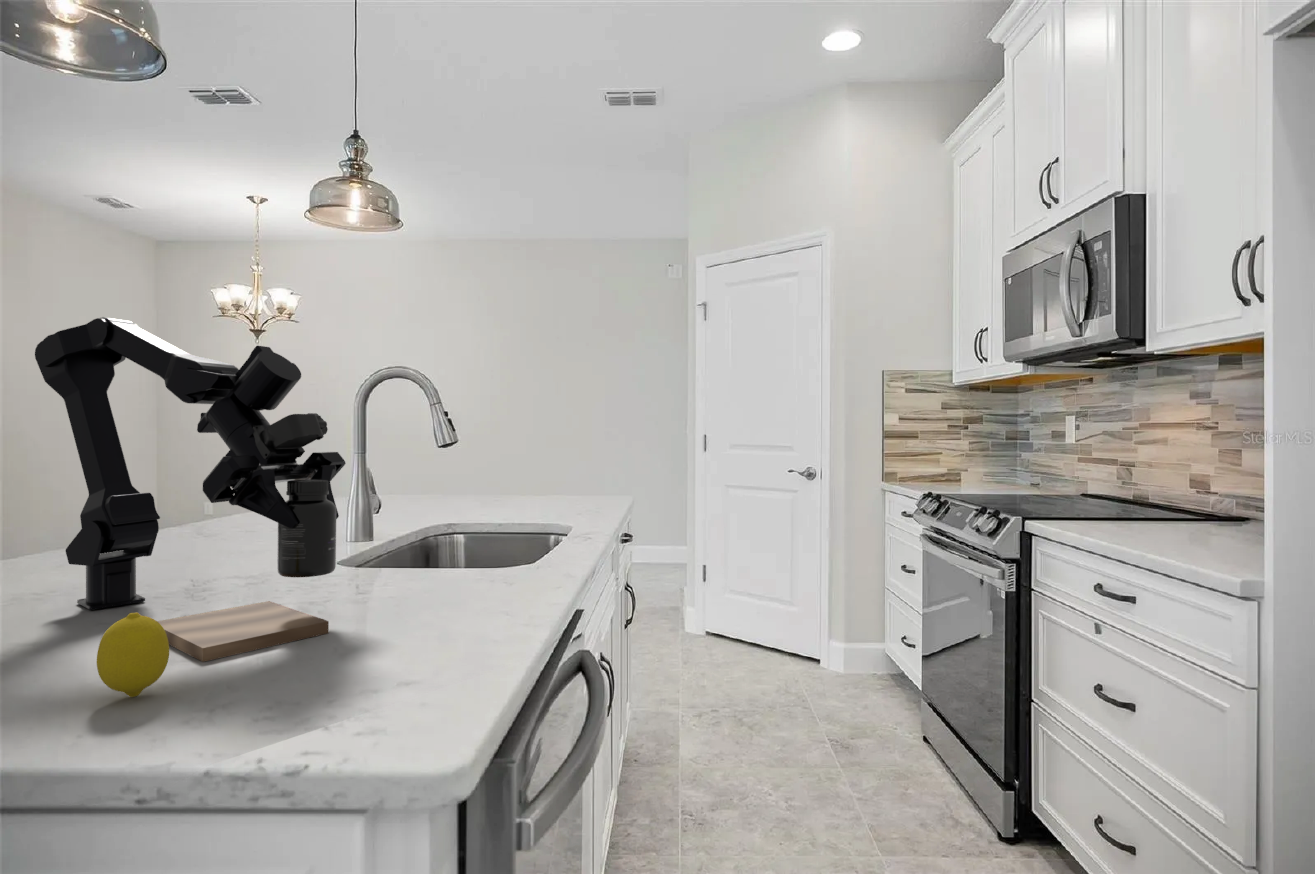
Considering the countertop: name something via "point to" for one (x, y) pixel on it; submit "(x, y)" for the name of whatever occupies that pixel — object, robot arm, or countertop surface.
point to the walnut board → (240, 629)
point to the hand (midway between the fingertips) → (316, 522)
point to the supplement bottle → (308, 531)
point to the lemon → (132, 654)
